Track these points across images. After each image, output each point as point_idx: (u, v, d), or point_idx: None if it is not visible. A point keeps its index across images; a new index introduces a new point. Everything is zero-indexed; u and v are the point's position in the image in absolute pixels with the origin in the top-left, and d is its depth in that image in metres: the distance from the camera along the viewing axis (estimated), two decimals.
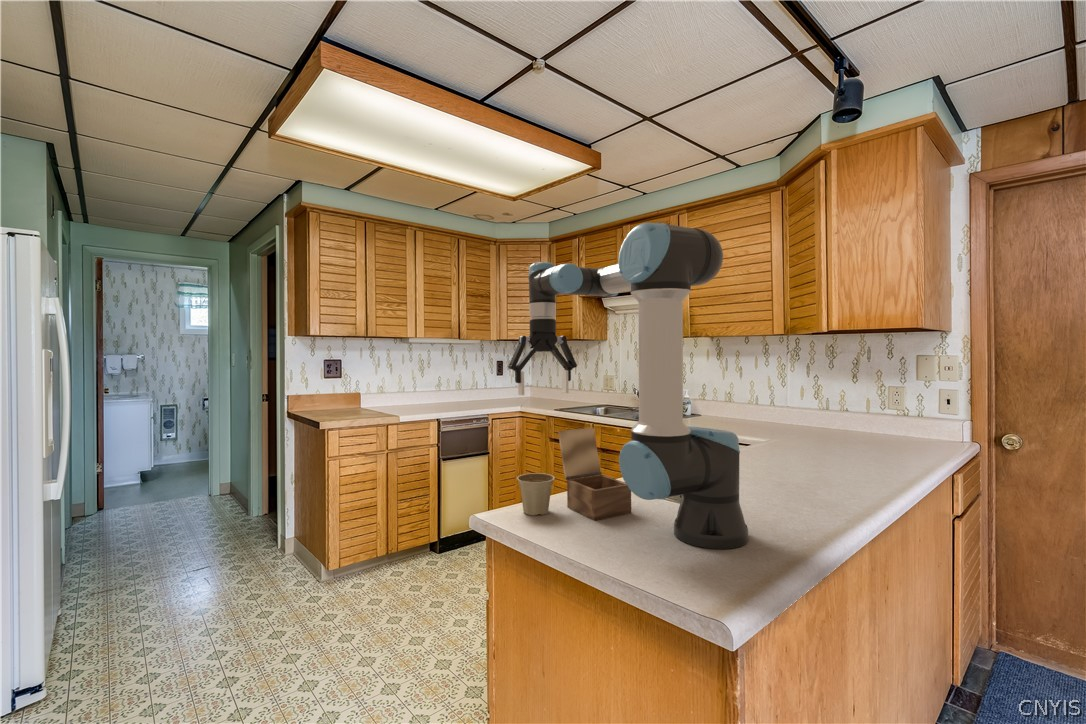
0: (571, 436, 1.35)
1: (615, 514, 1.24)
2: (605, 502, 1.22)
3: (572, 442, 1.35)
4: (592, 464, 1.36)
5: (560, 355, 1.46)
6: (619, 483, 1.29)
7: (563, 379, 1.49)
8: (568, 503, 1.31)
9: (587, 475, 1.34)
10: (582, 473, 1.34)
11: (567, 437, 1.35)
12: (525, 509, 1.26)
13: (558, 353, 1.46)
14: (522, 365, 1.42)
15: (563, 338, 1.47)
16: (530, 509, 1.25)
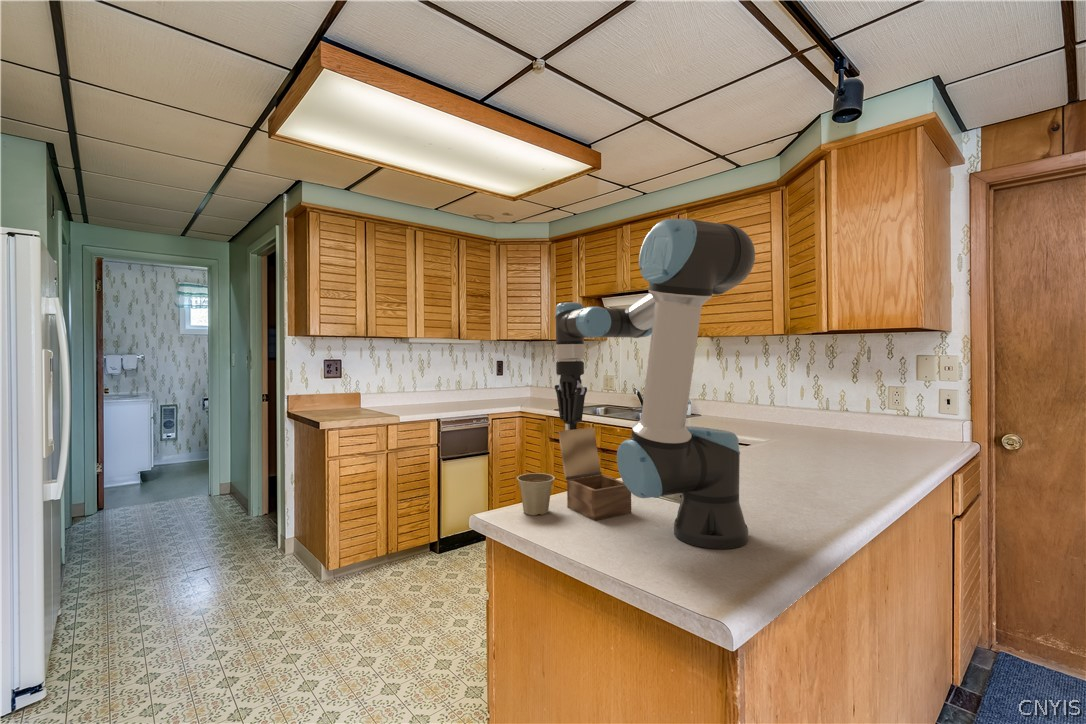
0: (571, 436, 1.35)
1: (615, 514, 1.24)
2: (605, 502, 1.22)
3: (572, 442, 1.35)
4: (592, 464, 1.36)
5: (569, 404, 1.38)
6: (619, 483, 1.29)
7: None
8: (568, 503, 1.31)
9: (587, 475, 1.34)
10: (582, 473, 1.34)
11: (567, 437, 1.35)
12: (525, 509, 1.26)
13: (569, 401, 1.38)
14: (564, 415, 1.40)
15: (577, 389, 1.34)
16: (530, 509, 1.25)
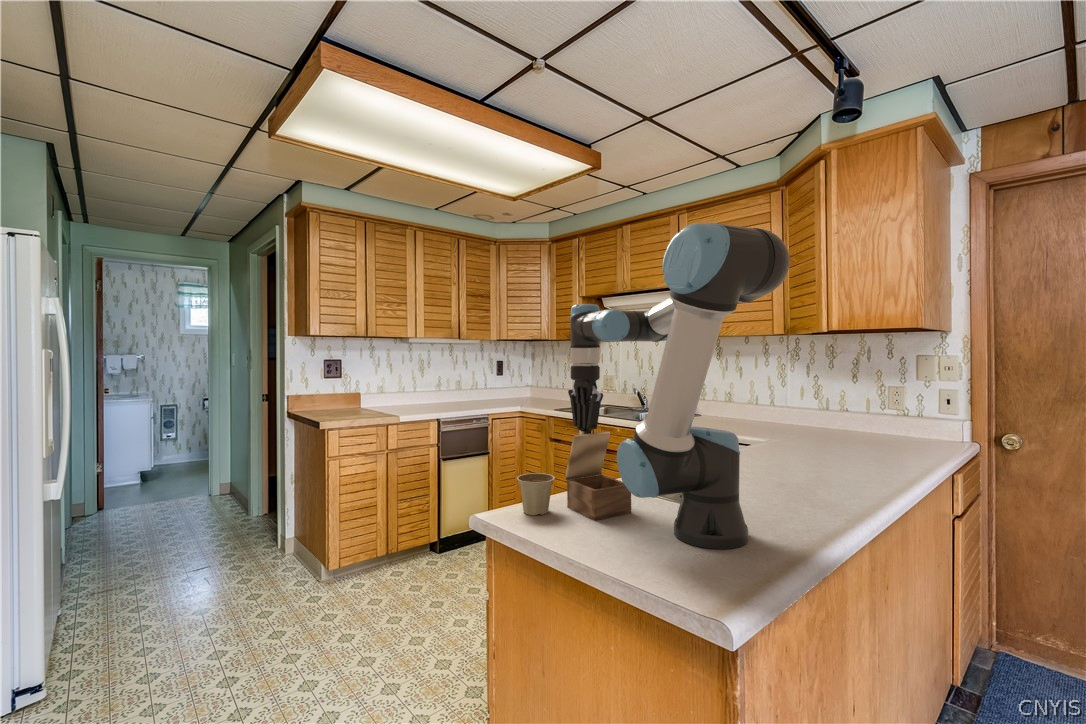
0: (585, 441, 1.30)
1: (615, 514, 1.24)
2: (605, 502, 1.22)
3: (584, 447, 1.30)
4: (595, 465, 1.35)
5: (584, 411, 1.31)
6: (619, 483, 1.29)
7: None
8: (568, 503, 1.31)
9: (587, 476, 1.34)
10: (583, 473, 1.34)
11: (581, 442, 1.29)
12: (525, 509, 1.26)
13: (584, 407, 1.31)
14: (578, 422, 1.34)
15: (593, 395, 1.28)
16: (530, 509, 1.25)
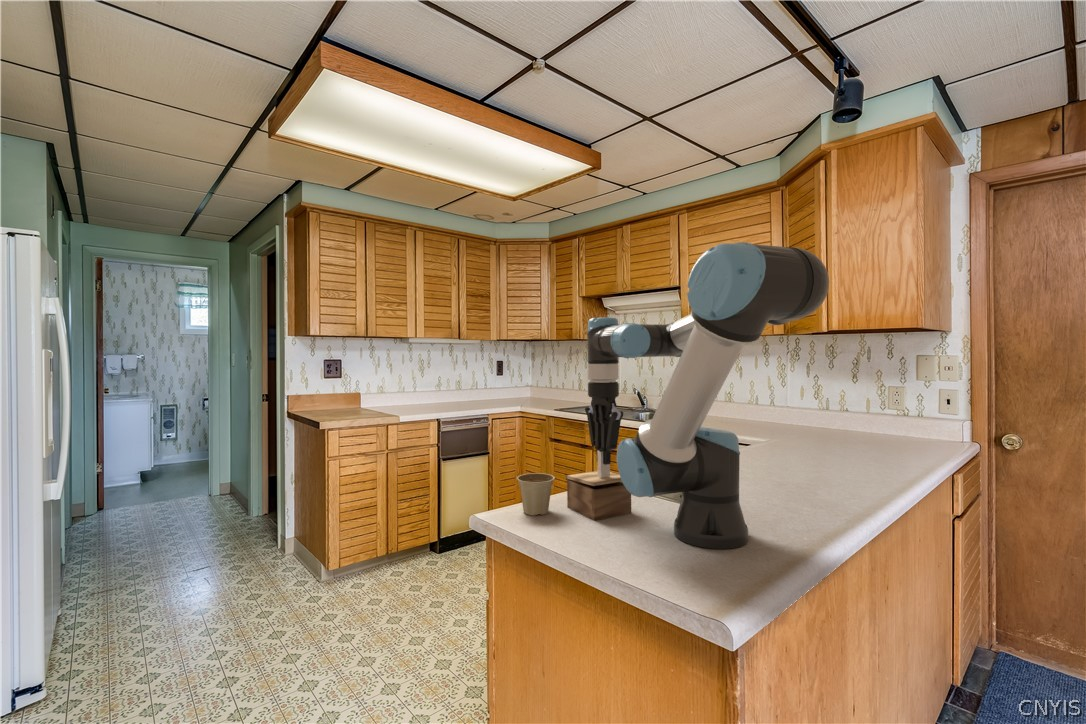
0: None
1: (615, 514, 1.24)
2: (605, 502, 1.22)
3: None
4: None
5: (602, 430, 1.24)
6: (619, 483, 1.29)
7: None
8: (568, 503, 1.31)
9: None
10: None
11: None
12: (525, 509, 1.26)
13: (602, 426, 1.25)
14: (596, 441, 1.27)
15: (612, 414, 1.21)
16: (530, 509, 1.25)
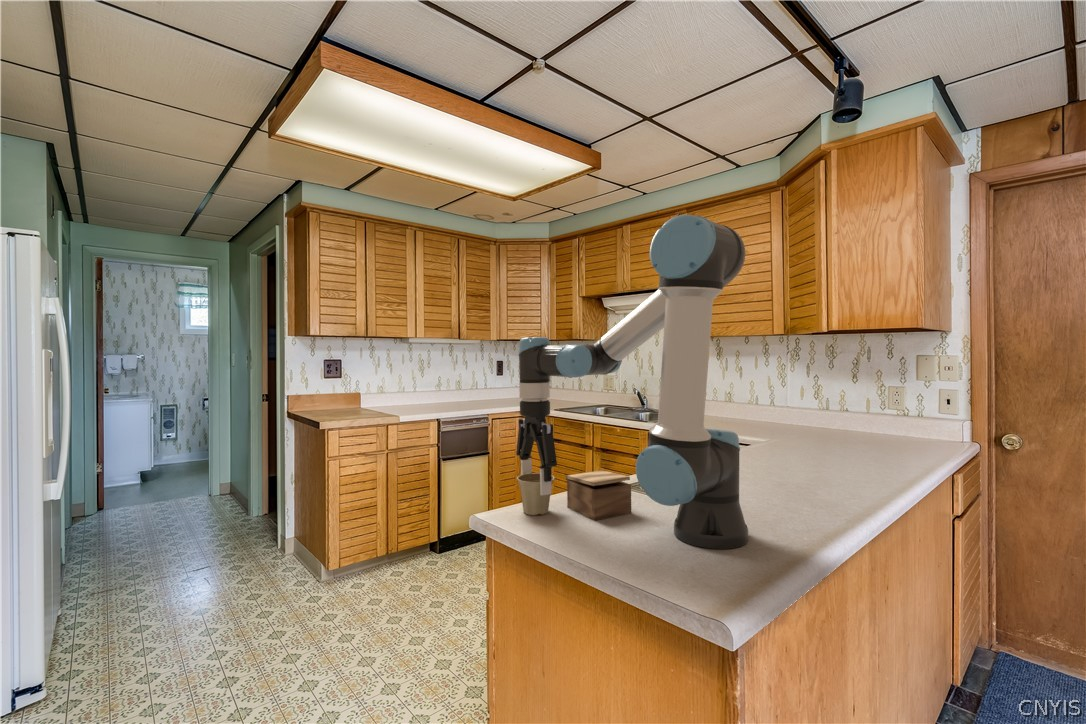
0: None
1: (615, 514, 1.24)
2: (605, 502, 1.22)
3: None
4: None
5: (538, 447, 1.24)
6: (619, 483, 1.29)
7: None
8: (568, 503, 1.31)
9: None
10: None
11: None
12: (525, 509, 1.26)
13: (537, 444, 1.24)
14: (521, 452, 1.32)
15: None
16: (530, 509, 1.25)
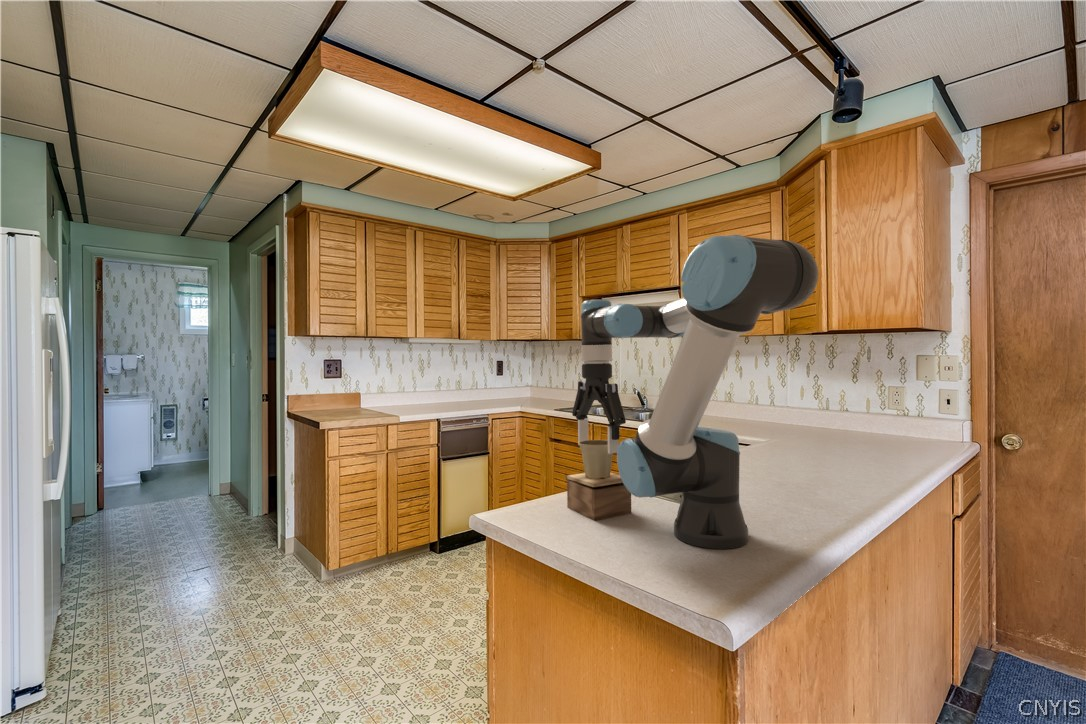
0: None
1: (615, 514, 1.24)
2: (605, 502, 1.22)
3: None
4: None
5: (604, 407, 1.24)
6: (619, 483, 1.29)
7: None
8: (568, 503, 1.31)
9: None
10: None
11: None
12: (588, 473, 1.27)
13: (602, 404, 1.24)
14: (579, 413, 1.34)
15: (607, 387, 1.23)
16: (593, 473, 1.26)
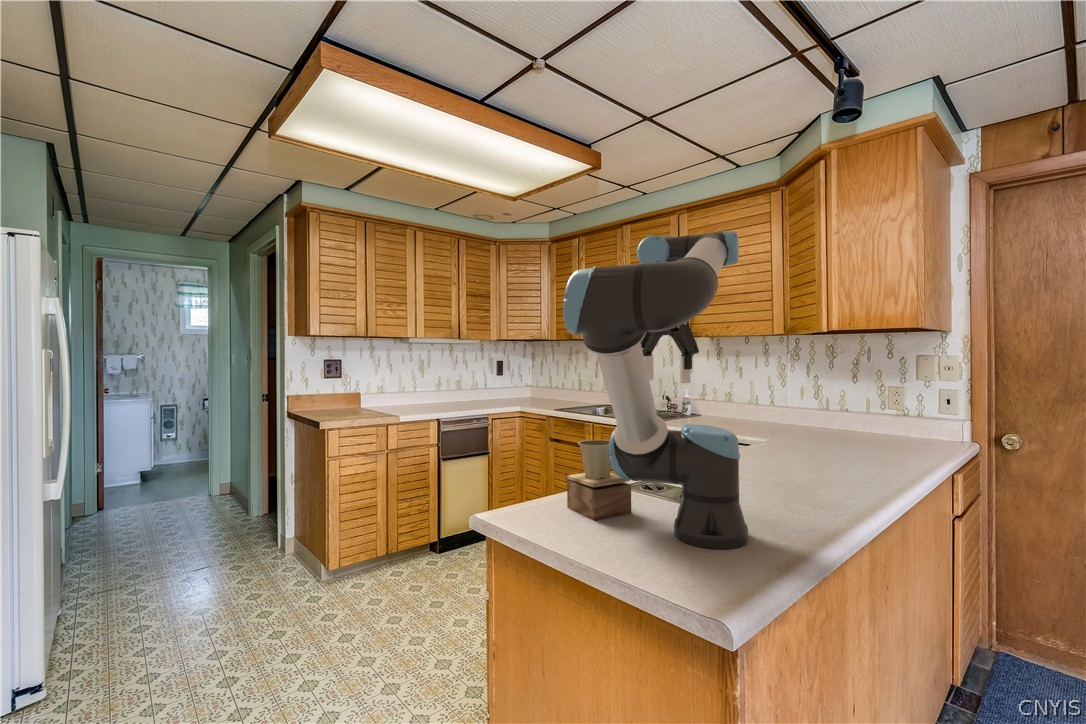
0: None
1: (615, 514, 1.24)
2: (605, 502, 1.22)
3: None
4: None
5: (675, 339, 1.27)
6: (619, 483, 1.29)
7: None
8: (568, 503, 1.31)
9: None
10: None
11: None
12: (588, 473, 1.27)
13: (674, 337, 1.28)
14: (644, 349, 1.38)
15: None
16: (593, 473, 1.26)
